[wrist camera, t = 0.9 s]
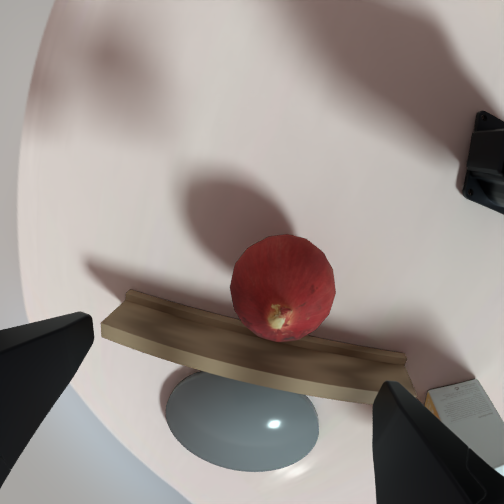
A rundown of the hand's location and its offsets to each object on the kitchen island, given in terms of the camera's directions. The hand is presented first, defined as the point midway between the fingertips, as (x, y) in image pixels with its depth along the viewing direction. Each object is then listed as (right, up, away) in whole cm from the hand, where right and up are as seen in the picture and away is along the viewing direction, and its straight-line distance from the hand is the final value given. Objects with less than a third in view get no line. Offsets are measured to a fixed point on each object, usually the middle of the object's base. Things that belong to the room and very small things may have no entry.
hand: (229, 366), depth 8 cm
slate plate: (0, -13, +18) cm, 22 cm away
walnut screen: (+2, -3, +14) cm, 15 cm away
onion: (+3, +2, +13) cm, 13 cm away
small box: (+19, -12, +15) cm, 27 cm away
